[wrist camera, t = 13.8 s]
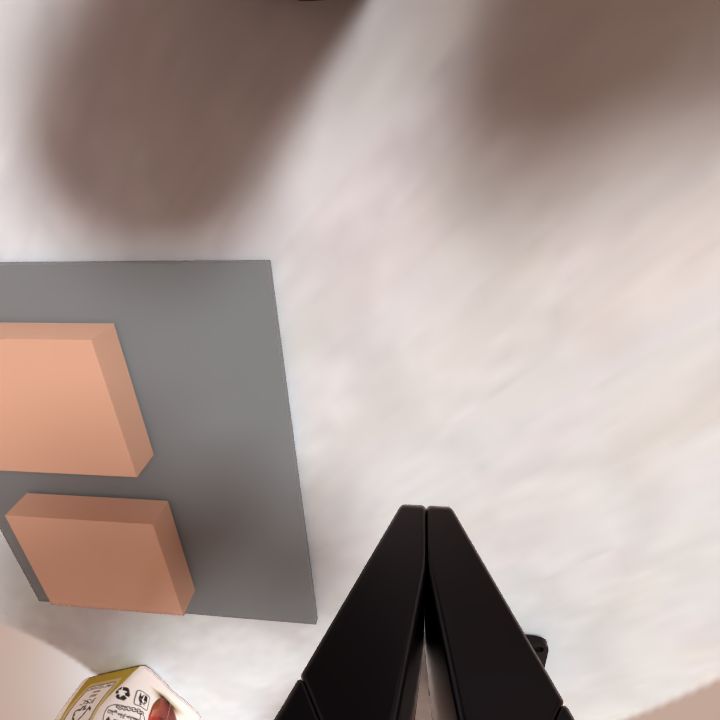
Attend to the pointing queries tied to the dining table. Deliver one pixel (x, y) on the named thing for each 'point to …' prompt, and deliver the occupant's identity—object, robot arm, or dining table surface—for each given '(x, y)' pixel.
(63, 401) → the tile
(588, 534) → the dining table surface
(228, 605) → the mat
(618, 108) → the dining table surface
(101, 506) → the tile
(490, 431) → the dining table surface
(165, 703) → the juice carton
